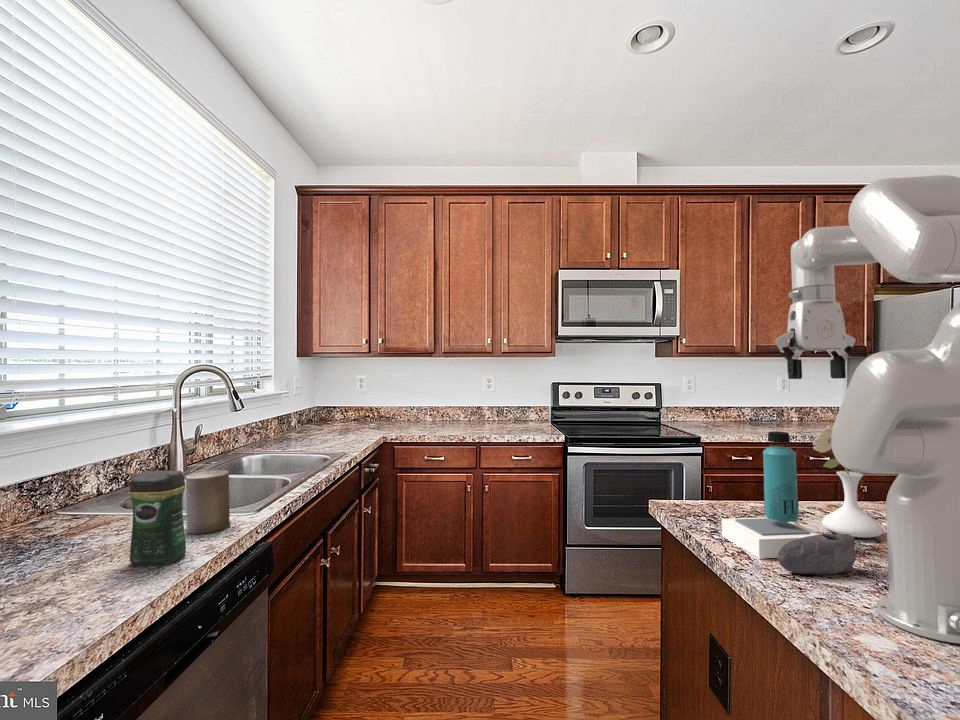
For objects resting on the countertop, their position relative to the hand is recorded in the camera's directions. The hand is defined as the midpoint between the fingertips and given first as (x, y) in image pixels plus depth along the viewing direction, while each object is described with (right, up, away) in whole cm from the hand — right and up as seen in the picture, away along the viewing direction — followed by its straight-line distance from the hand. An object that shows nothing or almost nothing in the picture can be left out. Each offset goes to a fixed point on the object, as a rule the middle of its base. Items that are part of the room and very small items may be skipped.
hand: (816, 378), depth 104 cm
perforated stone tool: (-7, -36, -11) cm, 38 cm away
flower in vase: (+14, -36, +10) cm, 40 cm away
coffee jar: (-138, -38, 0) cm, 143 cm away
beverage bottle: (-5, -32, +3) cm, 32 cm away
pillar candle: (-139, -39, +21) cm, 146 cm away
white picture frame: (-8, -36, +3) cm, 37 cm away
